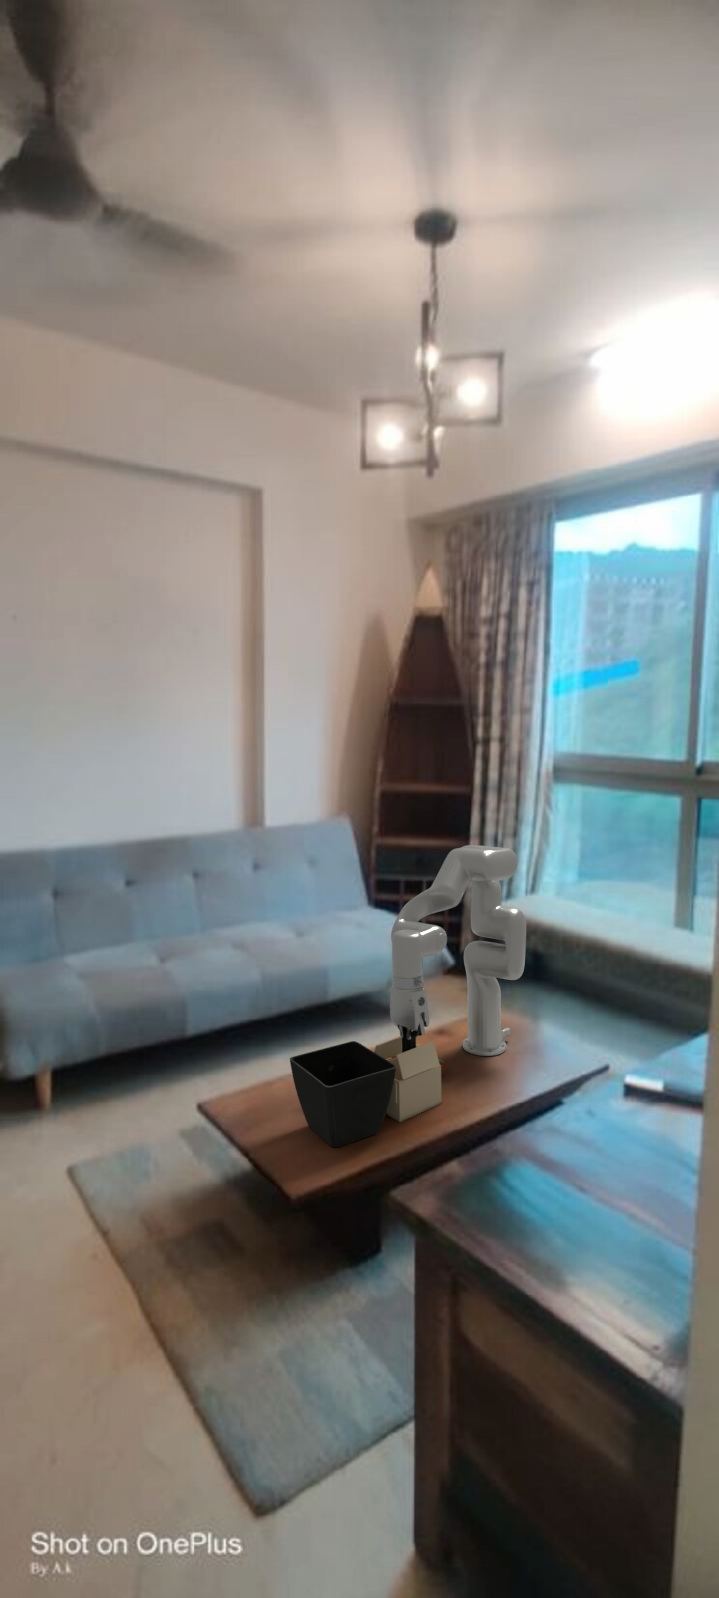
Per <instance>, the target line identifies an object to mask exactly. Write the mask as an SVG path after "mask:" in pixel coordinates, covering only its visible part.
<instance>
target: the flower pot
mask: <svg viewBox="0 0 719 1598" xmlns="http://www.w3.org/2000/svg"><path fill="white" fill-rule="evenodd" d="M388 1060H389V1059H384V1058H383V1057H381V1056H379V1055H378V1054H376V1053H374V1051H373V1050H371V1049H370V1048H368V1047H367V1046H365V1045H363V1044H361V1043H360V1042H358V1041H355V1040H352V1041H348V1042H344V1043H340V1044H336V1045H332V1046H329V1047H324V1048H321V1049H318V1050H313V1051H309V1052H306V1053H302V1054H301V1053H300V1054H298V1055H294V1056H291V1057H290V1058H289V1063H290V1070H291V1074H292V1079H293V1083H294V1086H295V1088H294V1089H295V1091H296V1095H297V1098H298V1102H299V1104H300V1108H301V1110H302V1113H303V1115H304V1118H305V1121H306V1124H307V1125H308V1127H309V1128H310V1129H311V1130H312V1131H313V1132H314V1133H316V1135H318V1136H319V1137H321V1139H322V1140H323V1141H325V1142H326V1144H329V1146H330V1147H332V1148H338V1147H339V1148H340V1147H341V1146H344V1145H348V1144H351V1143H354V1142H356V1141H359V1140H362V1139H365V1138H367V1137H370V1136H371V1137H372V1136H374V1135H377V1134H378V1133H379V1132H380V1130H381V1127H382V1125H383V1122H384V1119H385V1117H386V1111H387V1108H388V1104H389V1101H390V1097H391V1093H392V1089H393V1084H394V1078H395V1072H396V1066H395V1065H394V1064H392V1063H391V1062H389V1061H388Z"/></svg>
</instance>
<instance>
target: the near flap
mask: <svg viewBox="0 0 719 1598" xmlns="http://www.w3.org/2000/svg"><path fill="white" fill-rule="evenodd" d="M420 1045H421V1046H419V1047H416V1048H413V1049H411V1050H408V1051H406V1052H403V1053H400V1054H398V1055H396V1056H397V1061H398V1065H399V1069H400V1073H401V1077H402V1080H403V1079H406V1078H408V1077H411V1076H413V1075H415V1074H418V1073H420V1072H423V1071H425V1070H428V1069H430V1068H432V1067H435V1066H437V1065H440V1064H439V1060H438V1057H439V1056H438V1052H437V1049H436V1045H435V1041H434V1040H431V1041H429V1042H426V1043H424V1044H420Z"/></svg>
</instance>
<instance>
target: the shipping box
mask: <svg viewBox="0 0 719 1598" xmlns="http://www.w3.org/2000/svg"><path fill="white" fill-rule="evenodd" d="M387 1060H388V1061H389V1062H391V1063H392V1064H394V1065H395V1066H396V1072H395V1078H394V1084H393V1089H392V1093H391V1097H390V1101H389V1104H388V1108H387V1111H386V1114H385V1116H387V1117H389V1118H391V1119H393V1120H395V1121H396V1122H399V1123H402V1122H404V1121H407V1120H409V1119H410V1118H411V1119H412V1118H413V1117H415V1116H417V1114H418V1115H420V1114H422V1113H423V1112H426V1111H428V1110H430V1108H431V1109H433V1108H435V1107H437V1106H440V1105H441V1104H442V1075H441V1065H437V1066H435V1067H432V1068H430V1069H428V1070H425V1071H423V1072H420V1073H418V1074H415V1075H413V1076H411V1077H408V1078H406V1079H403V1080H402V1077H401V1073H400V1069H399V1065H398V1061H397V1057H396V1058H393V1059H391V1058H390V1059H387ZM421 1112H422V1113H421ZM419 1113H420V1114H419ZM408 1118H409V1119H408ZM406 1119H407V1120H406Z"/></svg>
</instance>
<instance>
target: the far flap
mask: <svg viewBox="0 0 719 1598" xmlns="http://www.w3.org/2000/svg"><path fill="white" fill-rule="evenodd" d="M402 1038H403V1037H401V1036H400V1035H399V1036H397V1037H394V1038H391V1039H389V1040H385V1041H383V1042H380V1043H378V1044H376V1045H375V1049H374V1051H373V1052H374V1053H376V1054H378V1055H379V1056H381V1057H383V1058H384V1059H386V1060H389V1059H391V1057H393V1056H396V1055H398V1054H400V1053H402Z"/></svg>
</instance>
